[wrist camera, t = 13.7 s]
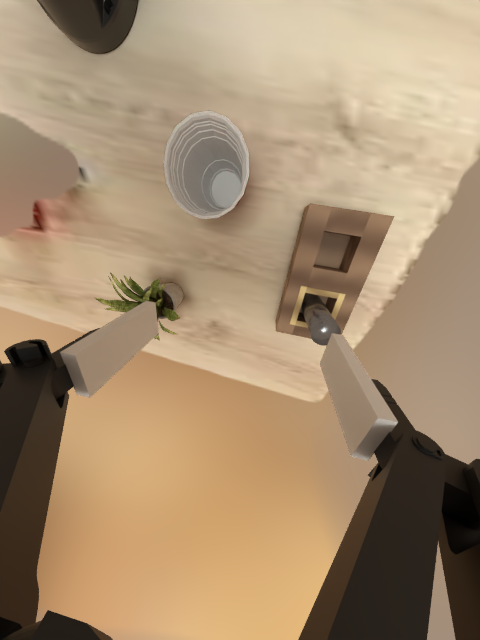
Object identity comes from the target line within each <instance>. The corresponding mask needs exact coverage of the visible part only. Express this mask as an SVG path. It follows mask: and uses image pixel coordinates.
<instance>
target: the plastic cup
mask: <svg viewBox="0 0 480 640" xmlns="http://www.w3.org/2000/svg"><path fill="white" fill-rule="evenodd" d="M163 165H164V171H165V178H166V184H167V187H168V189H169V191H170V193H171V195H172V197H173V199H174V200H175V202H176V203H177V204H178V205H179V206H180V207H181V208H182V209H183V210H184V211H185V212H186V213H187V214H190V215H192V216H195V217H198V218H200V219H212V218H219V217H221V216H222V215H224V214H226V213H227V212H229V211H231V210H232V209H233V208H234V207H235V206H236V205H237V204H238V203H239V201H240V200H241V197H242V196H243V194H244V191H245V188H246V184H247V181H248V178H249V152H248V149H247V147H246V144H245V141H244V139H243V136H242V134H241V131H240V130H239V129H238V128H237V127H236V126H235V125H234V124H233V123H232V122H231V121H230V120H229V119H228V118H227V117H226V116H223V115H220V114H218V113H215V112H212V111H209V110H208V111H203V112H198V113H192V114H190V115H189V116H188V117H186V118H185V119H184V120H183V121H181V122H180V123H179V124H178V125H177V126H176V127H175V129H174V131H173V133H172V135H171V136H170V138H169V140H168V142H167V144H166V151H165V158H164V164H163Z"/></svg>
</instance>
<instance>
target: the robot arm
mask: <svg viewBox="0 0 480 640" xmlns="http://www.w3.org/2000/svg"><path fill="white" fill-rule="evenodd" d="M37 1H38V2H39V4H40V5H41V7H42V8H43V10H44V11H45V13H46V14H47V15H48V17H49V18H50V19H51V20H52V21H53V22H54V24H55V25H56V26H57V27H58V28H59V29H60V30H61V31H62V32H63V33H64V34H65V35H67V36H68V37H69V38H70V39H71V40H72V41H73V42H74V43H75V44H76V45H78V46H79V47H81V48H82V49H84V50H86V51H89V52H92V53H105V52H109V51H111V50H113V49H114V48H116V47H117V46H118V45H119V44H120V43H121V42H122V41H123V40H124V38H125V37H126V35H127V33H128V31H129V29H130V27H131V25H132V22H133V19H134V16H135V12H136V7H137V1H138V0H37ZM157 334H158V324H157V313H156V303H155V302H150V301H145V302H143V303H142V304H140V305H138V306H137V307H135V308H133V309H132V310H130V311H128V312H126V313H125V314H123V315H121V316H120V317H118V318H116V319H115V320H113V321H111V322H110V323H108V324H106V325H105V326H103V327H101V328H98V329H95V330H93V331H90V332H88V333H86V334H85V335H83V336H82V337H80V338H78V339H76V340H75V341H73V342H71V343H69V344H67V345H66V346H64V347H62V348H61V349H59V350H57V351H56V352H54V353H52V354H51V352H50V350H49V347H48V345H47V343H46V341H44V340H39V339H38V340H37V339H36V340H28V341H23V342H20V343H17V344H14V345H12V346H11V347H9V348H7V349H6V350H5V351H4V352H5V354H6V355H7V357H8V359H9V360H10V362H11V363H9V364H2V363H1V361H0V640H112V638H111V637H110V636H108V635H106V634H105V633H103V632H101V631H99V630H98V629H96V628H94V627H92V626H91V625H89V624H87V623H84V622H81V621H78V620H75V619H72V618H69V617H66V616H63V615H60V614H57V613H54V612H51V611H49V610H48V611H47V612H46V614H45V616H44V618H43V619H42V621H39V622H37V623H35V622H36V616H37V610H38V601H39V588H38V582H37V565H38V559H39V554H40V548H41V543H42V537H43V532H44V526H45V522H46V516H47V511H48V505H49V500H50V495H51V490H52V484H53V479H54V474H55V468H56V463H57V458H58V452H59V447H60V442H61V436H62V431H63V426H64V420H65V415H66V410H67V404H68V399H69V394H68V392H67V391H68V390H70V389H71V388H72V387H73V386H74V389H75V391H76V394H77V395H81V396H85V397H91V396H92V395H94V394H95V393H96V392H97V391H98V390H99V389H100V388H101V387H102V386H103V385H104V384H105V383H106V382H107V381H108V380H109V379H111V377H113V376H114V375H115V373H117V372H118V371H119V370H120V369H121V368H122V367H123V366H124V365H125V364H126V363H127V362H128V361H130V360H131V359H132V358H133V357H134V356H135V355H136V354H137V353H138V352H139V351H140V350H141V349H142V348H143V347H144V346H145V345H147V344H148V343H149V342H150V341H151V340H152V339H153V338H154V337H155V336H156V335H157ZM320 366H321V369H322V372H323V375H324V378H325V381H326V384H327V386H328V389H329V392H330V395H331V398H332V401H333V404H334V407H335V410H336V413H337V416H338V419H339V422H340V425H341V428H342V431H343V434H344V437H345V440H346V443H347V446H348V449H349V452H350V455H351V457H355V458H360V459H364V460H369V459H370V457H371V456H372V455H373V454H374V453H375V455H376V458H377V460H378V464H377V465H376V466H375V467H374V468H373V470H372V471H371V472H370V473H369V474H368V476H369V477H370V479H369V482H368V484H367V486H366V488H365V491H364V493H363V495H362V497H361V500H360V502H359V504H358V506H357V509H356V511H355V513H354V515H353V518H352V520H351V522H350V524H349V527H348V529H347V531H346V533H345V536H344V538H343V540H342V542H341V545H340V547H339V549H338V551H337V554H336V556H335V558H334V560H333V563H332V565H331V567H330V569H329V572H328V574H327V576H326V578H325V581H324V583H323V585H322V587H321V590H320V592H319V595H318V597H317V599H316V601H315V603H314V606H313V608H312V610H311V612H310V614H309V617H308V619H307V621H306V624H305V626H304V628H303V630H302V633H301V635H300V637H299V640H427V633H428V624H429V615H430V606H431V597H432V589H433V580H434V571H435V563H436V554H437V545H438V541H439V547H440V553H441V558H442V564H443V570H444V576H445V581H446V587H447V593H448V598H449V604H450V610H451V616H452V621H453V627H454V632H455V638H456V640H480V459H475V460H474V461H472V462H471V463H470V464H469V465H468V464H466V463H464V462H461V461H459V460H457V459H455V458H453V457H450V456H448V455H446V454H445V453H444V452H443V450H442V449H441V448H440V447H439V446H438V444H437V443H436V442H435V441H433V440H432V439H431V438H429V437H428V436H426V435H425V434H423V433H421V432H419V431H416V430H415V429H414V427H413V426H412V425H411V423H410V422H409V420H408V419H407V417H406V416H405V415H404V413H403V411H402V410H401V409H400V407H399V406H398V405H397V403H396V401H395V400H394V399H393V398H392V396H391V394H390V393H389V391H388V390H387V388H386V387H384V386H383V385H382V384H381V383H380V382H379V381H378V380H373V379H371V378H370V377H369V375H368V374H367V372H366V371H365V369H364V367H363V366H362V364H361V363H360V361H359V360H358V358H357V356H356V355H355V353H354V352H353V350H352V348H351V347H350V345H349V344H348V342H347V340H346V339H345V337H344V336H343V335H340V334H334V333H332V334H331V337H330V339H329V342H328V344H327V347H326V349H325V352H324V354H323V357H322V359H321V362H320Z"/></svg>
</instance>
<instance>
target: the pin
mask: <svg viewBox="0 0 480 640" xmlns="http://www.w3.org/2000/svg"><path fill="white" fill-rule="evenodd" d="M301 309H302V312H303V315H304V318H305V321H306V323H307V326H308V329H309V332H310V335H311V337H312V340H313V341H314V342H315V343H317V344H319V345H327V344H328V342H329V339H330V337H331V334H332V333H334V334H340V335H341V330H340V327H339V326H338V324H337V323H336V321H335V320H334V318H333V317H332V315H331V313H330V312H329V310H328V309H327V307H326V306H325V304H324V303H323V301H322V300H321V298H320V297H319V295H315V294H310V293H305V295H304V298H303V302H302V305H301Z"/></svg>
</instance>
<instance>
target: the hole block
mask: <svg viewBox="0 0 480 640" xmlns="http://www.w3.org/2000/svg"><path fill="white" fill-rule="evenodd" d="M393 218H394V216H388V215H381V214H375V213H368V212H362V211H355V210H348V209H342V208H335V207H329V206H322V205H315V204H309V205H308V206H306V207H305V210H304V214H303V218H302V222H301V225H300V229H299V233H298V237H297V241H296V245H295V248H294V252H293V256H292V260H291V264H290V268H289V272H288V275H287V279H286V283H285V287H284V291H283V295H282V298H281V302H280V306H279V310H278V314H277V318H276V331H277V332H282V333H287V334H292V335H297V336H301V337H306V338H311V339H312V337H311V335H310V332H309V329H308V326H307V323H306V321H305V318H304V315H303V312H302V309H301V305H302V302H303V298H304V295H305V293H310V294H315V295H319V297H320V298H321V300H322V301H323V303H324V304H325V306H326V307H327V309H328V310H329V312H330V313H331V315H332V317H333V318H334V320H335V321H336V323H337V324H338V326H339V327H340V330H341V334H342V332H343V330H344V328H345V325H346V323H347V321H348V319H349V316H350V314H351V312H352V310H353V308H354V305H355V303H356V301H357V299H358V296H359V294H360V292H361V290H362V287H363V285H364V283H365V281H366V279H367V276H368V274H369V272H370V270H371V267H372V265H373V263H374V261H375V258H376V256H377V254H378V252H379V249H380V247H381V245H382V243H383V241H384V238H385V236H386V234H387V232H388V229H389V227H390V225H391V223H392V220H393Z"/></svg>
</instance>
